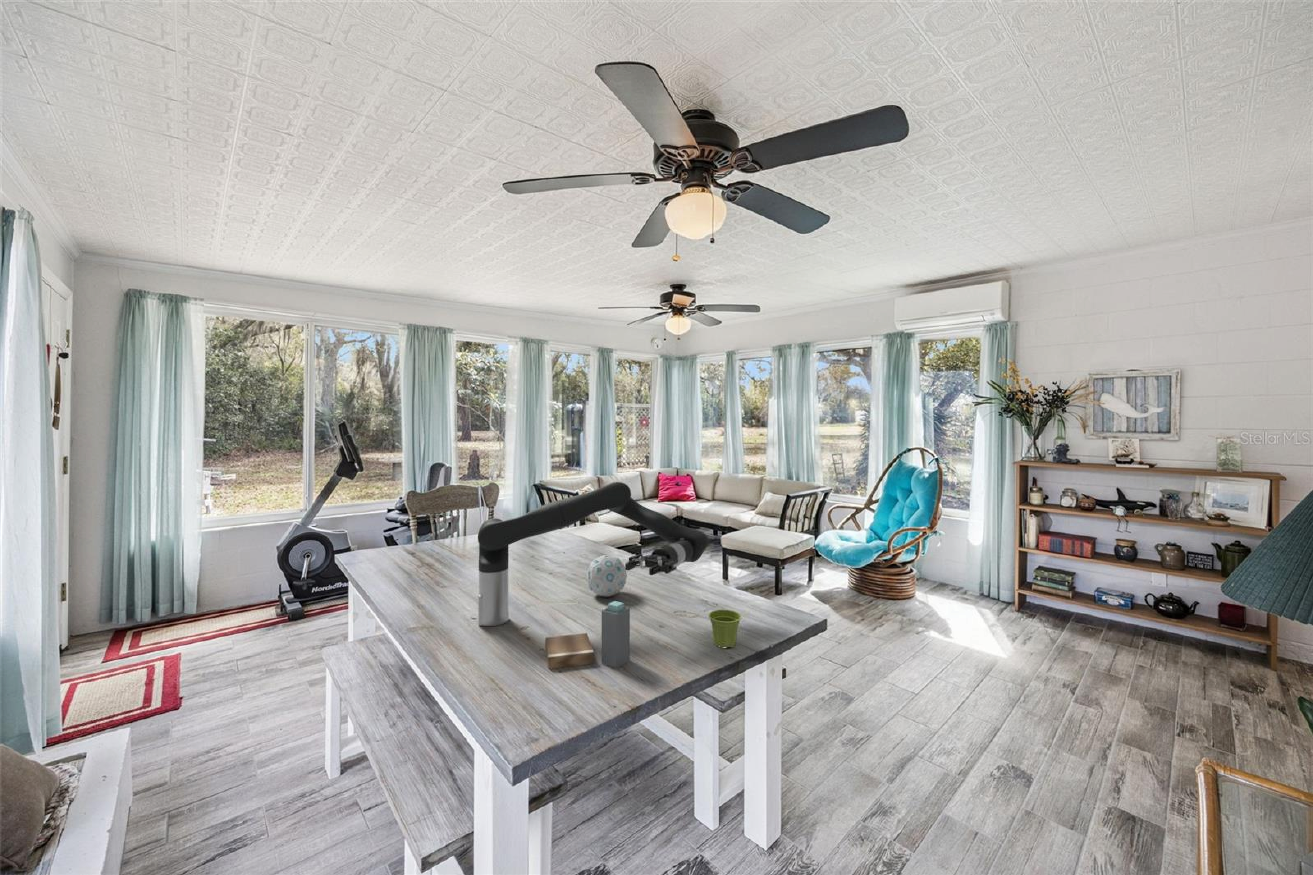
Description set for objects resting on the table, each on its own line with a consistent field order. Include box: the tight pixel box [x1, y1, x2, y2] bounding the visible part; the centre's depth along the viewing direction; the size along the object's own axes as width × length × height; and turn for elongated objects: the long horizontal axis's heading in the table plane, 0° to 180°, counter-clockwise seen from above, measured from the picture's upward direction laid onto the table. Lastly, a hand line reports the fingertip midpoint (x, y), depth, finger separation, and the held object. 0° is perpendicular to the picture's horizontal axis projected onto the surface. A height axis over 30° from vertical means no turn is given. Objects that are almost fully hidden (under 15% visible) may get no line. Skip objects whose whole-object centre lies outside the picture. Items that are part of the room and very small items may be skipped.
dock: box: [544, 632, 595, 670], centre depth 143 cm, size 12×13×3 cm
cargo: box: [607, 600, 625, 613], centre depth 139 cm, size 3×3×3 cm
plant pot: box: [708, 609, 742, 648], centre depth 150 cm, size 9×9×9 cm
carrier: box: [601, 605, 631, 669], centre depth 139 cm, size 6×5×14 cm
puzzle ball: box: [586, 554, 628, 598], centre depth 192 cm, size 15×15×15 cm
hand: (638, 569), depth 147 cm, fingers open, 8 cm apart
